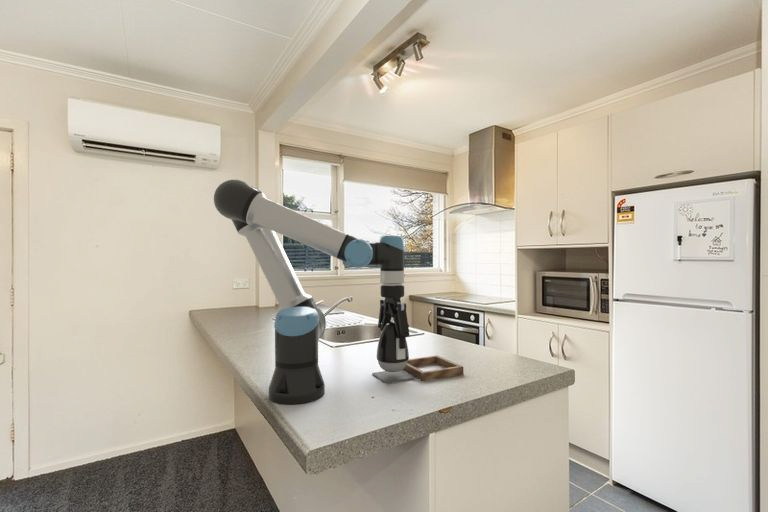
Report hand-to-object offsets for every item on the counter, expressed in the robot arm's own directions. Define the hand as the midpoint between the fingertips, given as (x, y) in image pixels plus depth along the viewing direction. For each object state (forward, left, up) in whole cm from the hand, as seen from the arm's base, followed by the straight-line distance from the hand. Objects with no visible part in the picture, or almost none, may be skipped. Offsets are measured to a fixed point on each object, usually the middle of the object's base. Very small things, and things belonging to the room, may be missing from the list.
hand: (392, 354), depth 118 cm
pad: (0, 0, -7) cm, 7 cm away
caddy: (+14, 0, -7) cm, 15 cm away
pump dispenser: (0, 0, -5) cm, 5 cm away
